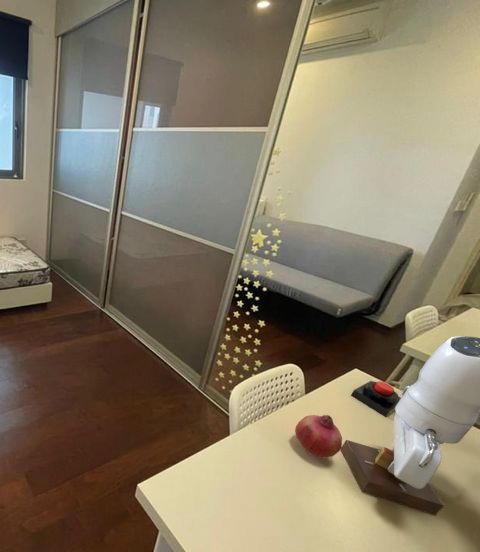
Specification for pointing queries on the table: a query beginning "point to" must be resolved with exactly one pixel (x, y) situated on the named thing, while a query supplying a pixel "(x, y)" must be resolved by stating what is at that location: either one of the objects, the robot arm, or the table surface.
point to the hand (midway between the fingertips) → (392, 466)
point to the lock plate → (386, 480)
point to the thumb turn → (384, 458)
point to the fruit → (319, 435)
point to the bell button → (384, 388)
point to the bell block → (376, 399)
